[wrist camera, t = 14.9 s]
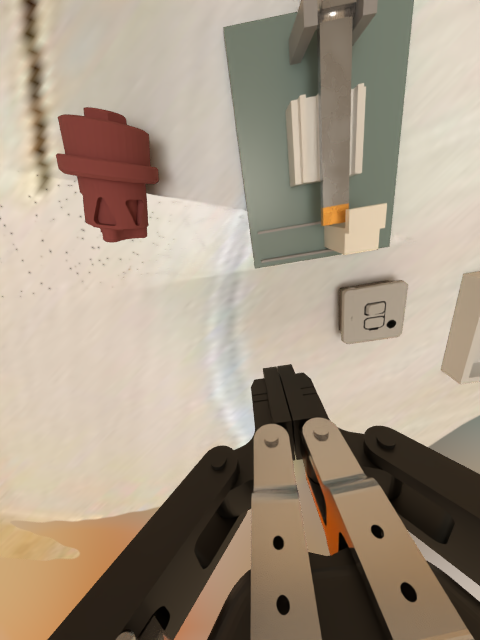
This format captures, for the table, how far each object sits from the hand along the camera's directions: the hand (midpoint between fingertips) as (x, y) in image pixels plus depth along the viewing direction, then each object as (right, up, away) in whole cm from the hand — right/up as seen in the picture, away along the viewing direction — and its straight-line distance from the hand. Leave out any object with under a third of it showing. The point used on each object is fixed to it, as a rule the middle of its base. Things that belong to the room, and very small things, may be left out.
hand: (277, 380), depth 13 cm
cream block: (+12, +16, +22) cm, 29 cm away
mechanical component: (-17, +22, +20) cm, 34 cm away
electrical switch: (+23, +7, +28) cm, 36 cm away
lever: (+8, +25, +13) cm, 30 cm away
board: (+8, +25, +19) cm, 32 cm away
